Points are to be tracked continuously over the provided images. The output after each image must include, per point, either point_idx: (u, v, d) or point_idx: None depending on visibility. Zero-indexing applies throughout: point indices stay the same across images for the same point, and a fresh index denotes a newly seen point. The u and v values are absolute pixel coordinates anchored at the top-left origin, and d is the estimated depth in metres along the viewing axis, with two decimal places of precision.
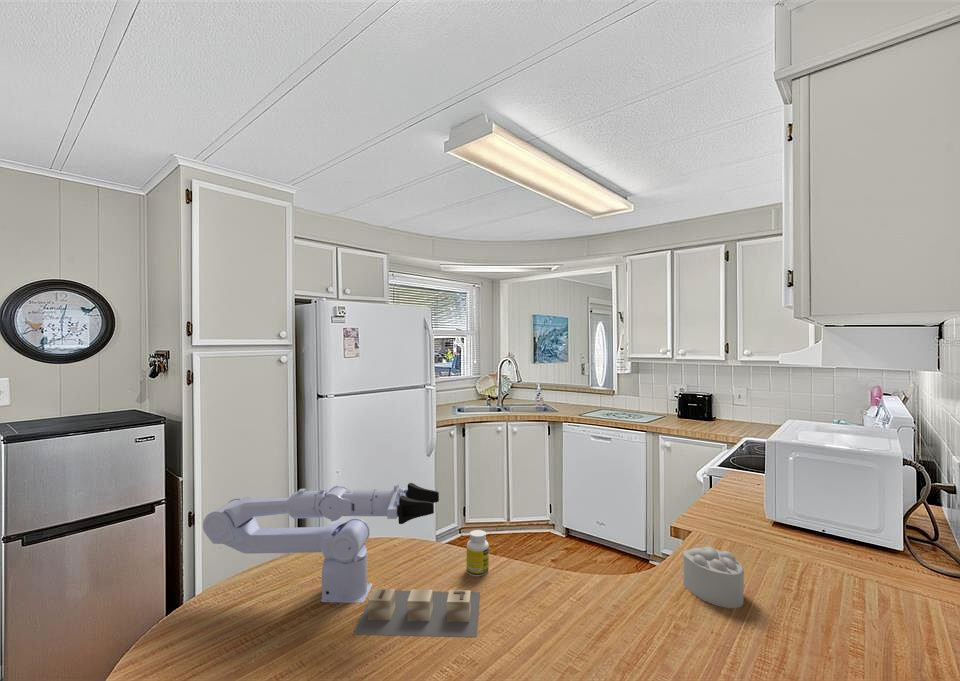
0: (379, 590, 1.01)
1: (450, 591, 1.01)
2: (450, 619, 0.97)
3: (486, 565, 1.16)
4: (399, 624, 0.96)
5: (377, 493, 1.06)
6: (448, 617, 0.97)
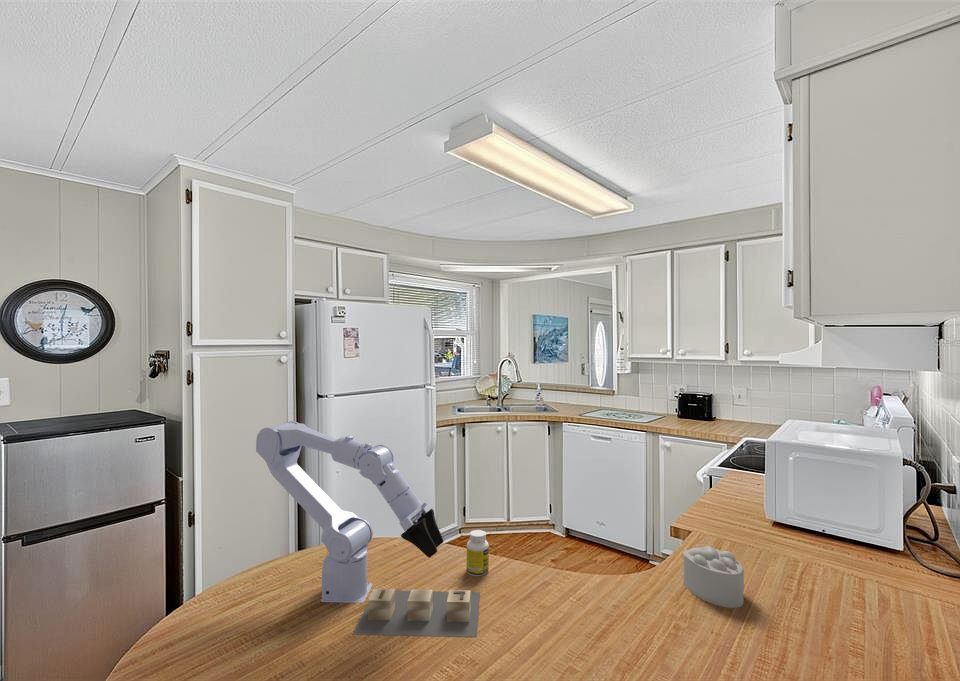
0: (379, 590, 1.01)
1: (450, 591, 1.01)
2: (450, 619, 0.97)
3: (486, 565, 1.16)
4: (399, 624, 0.96)
5: (409, 493, 1.03)
6: (448, 617, 0.97)
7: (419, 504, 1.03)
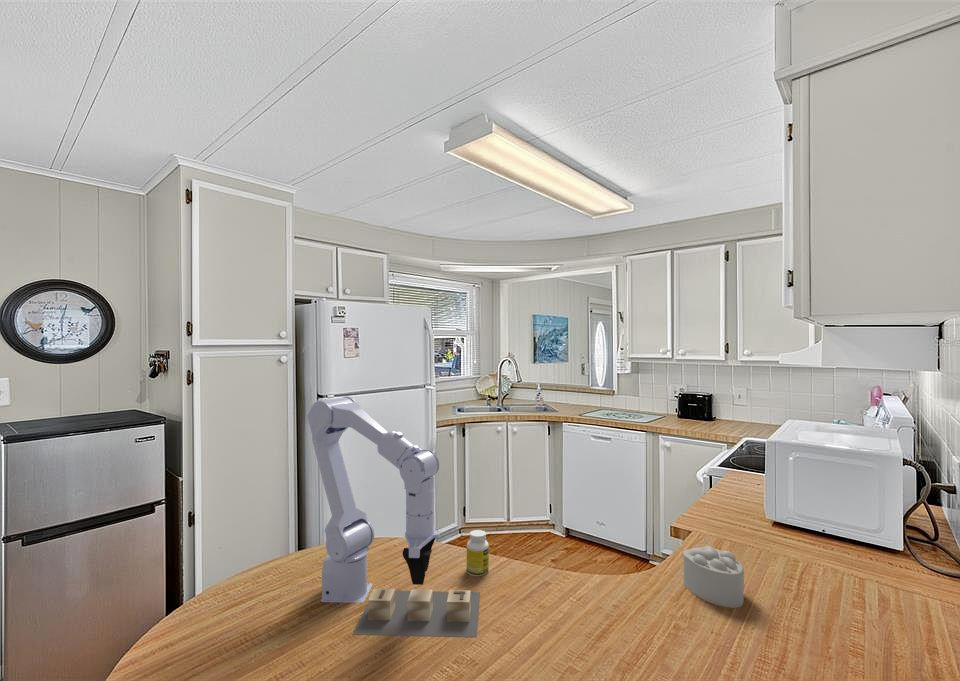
0: (379, 590, 1.01)
1: (450, 591, 1.01)
2: (450, 619, 0.97)
3: (486, 565, 1.16)
4: (399, 624, 0.96)
5: (430, 517, 0.98)
6: (448, 617, 0.97)
7: (432, 532, 0.98)
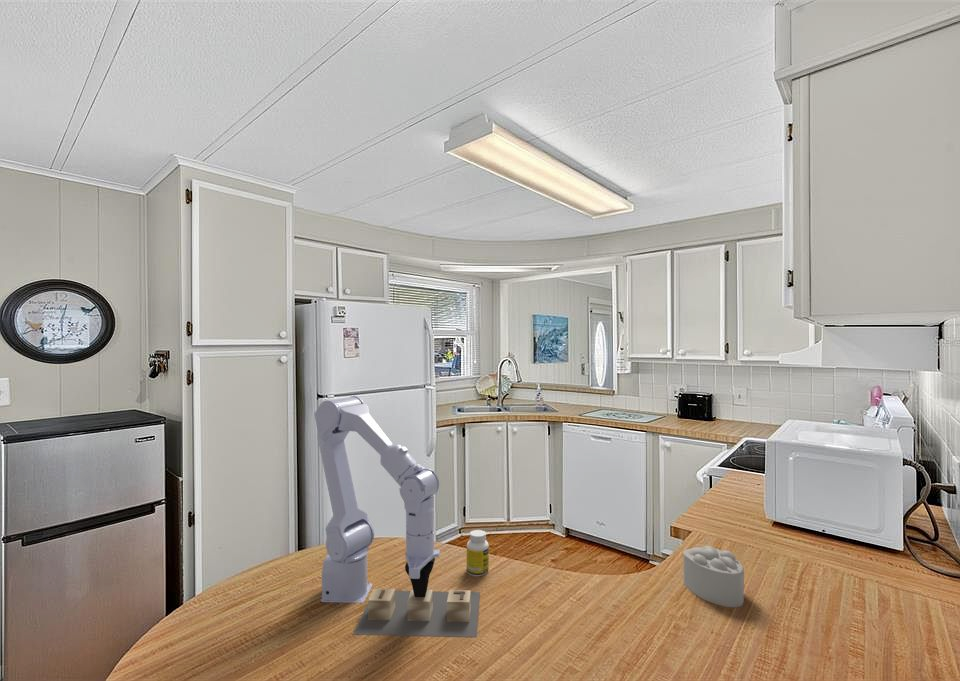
0: (379, 590, 1.01)
1: (450, 591, 1.01)
2: (450, 619, 0.97)
3: (486, 565, 1.16)
4: (399, 624, 0.96)
5: (430, 537, 0.98)
6: (448, 617, 0.97)
7: (432, 552, 0.98)
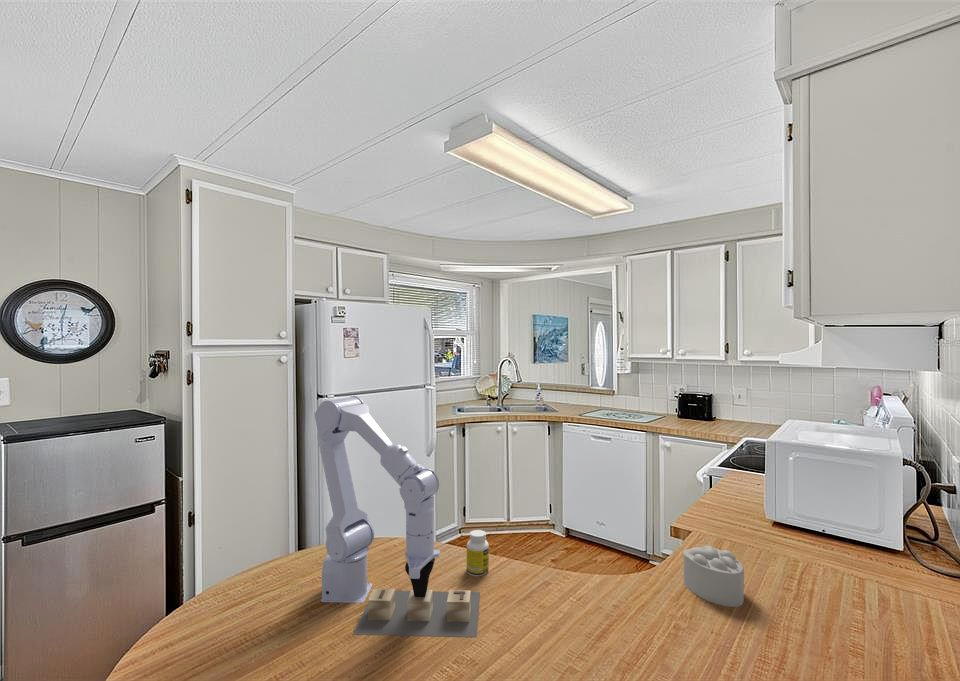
0: (379, 590, 1.01)
1: (450, 591, 1.01)
2: (450, 619, 0.97)
3: (486, 565, 1.16)
4: (399, 624, 0.96)
5: (430, 537, 0.98)
6: (448, 617, 0.97)
7: (432, 552, 0.98)
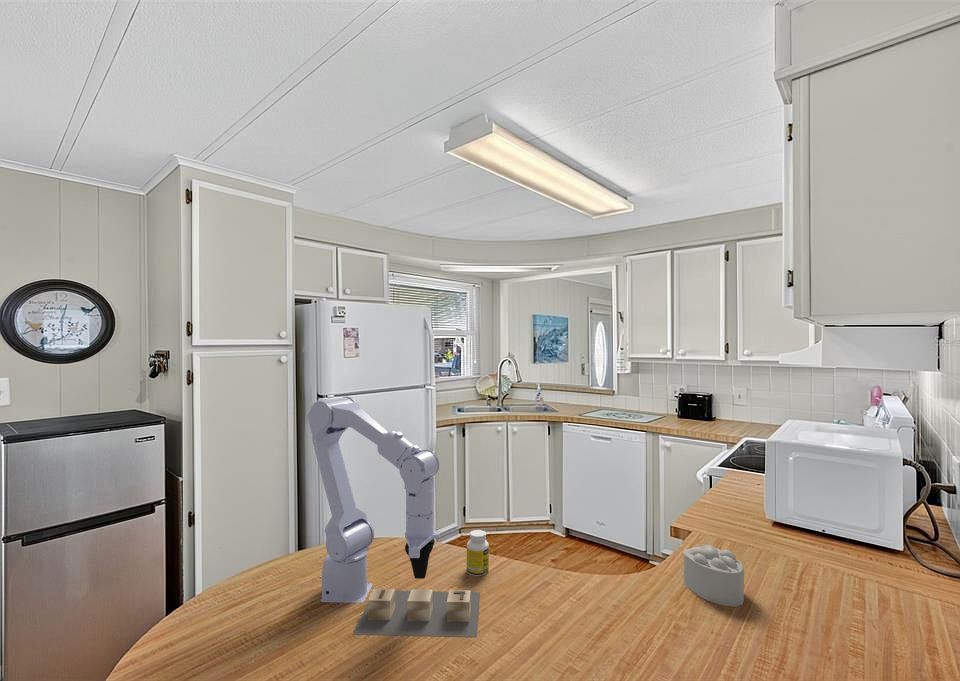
0: (379, 590, 1.01)
1: (450, 591, 1.01)
2: (450, 619, 0.97)
3: (486, 565, 1.16)
4: (399, 624, 0.96)
5: (430, 517, 0.98)
6: (448, 617, 0.97)
7: (432, 532, 0.98)
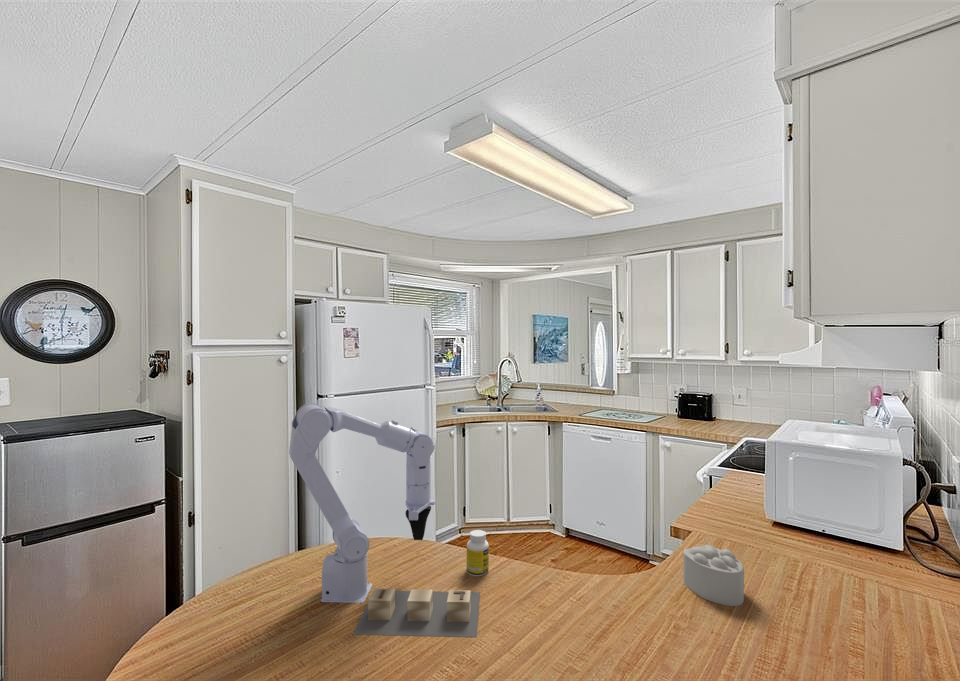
0: (379, 590, 1.01)
1: (450, 591, 1.01)
2: (450, 619, 0.97)
3: (486, 565, 1.16)
4: (399, 624, 0.96)
5: (427, 487, 1.14)
6: (448, 617, 0.97)
7: (429, 500, 1.14)
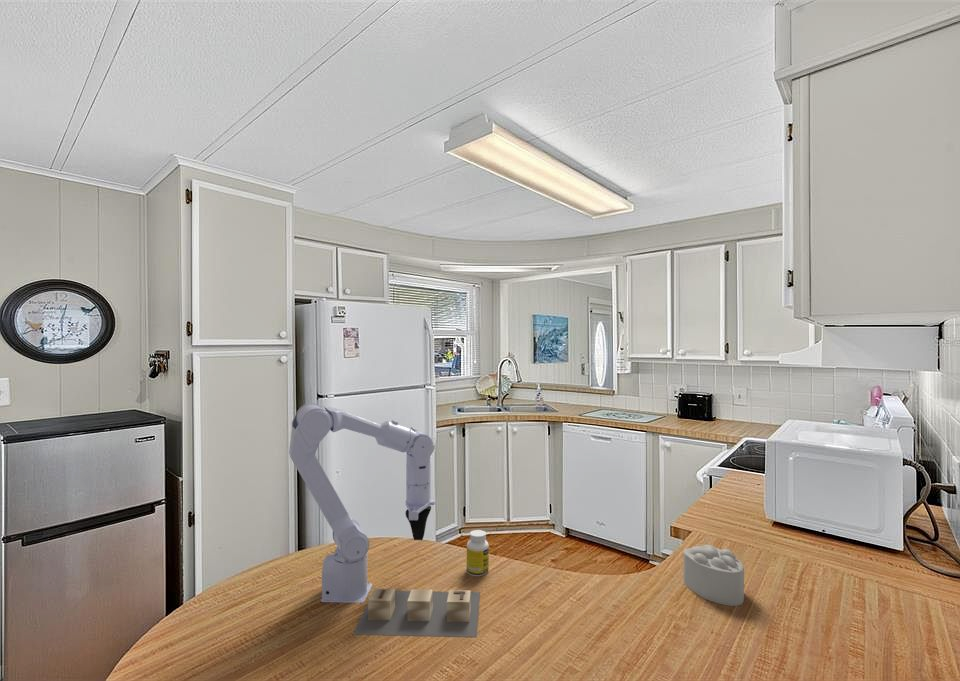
0: (379, 590, 1.01)
1: (450, 591, 1.01)
2: (450, 619, 0.97)
3: (486, 565, 1.16)
4: (399, 624, 0.96)
5: (427, 487, 1.14)
6: (448, 617, 0.97)
7: (429, 500, 1.14)
